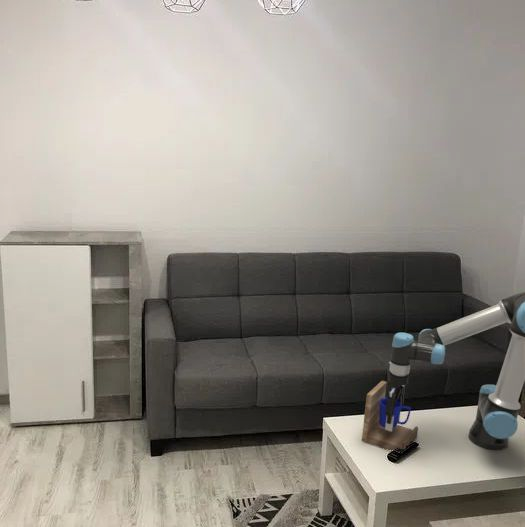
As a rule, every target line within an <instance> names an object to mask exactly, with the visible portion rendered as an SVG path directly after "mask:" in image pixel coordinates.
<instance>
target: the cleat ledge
mask: <svg viewBox="0 0 525 527" xmlns="http://www.w3.org/2000/svg"><path fill="white" fill-rule="evenodd" d="M418 431H419V426H415V427H414V428H413V429H411V428H408V427H405V426H403V425H400V424H397V425H396V427H395V428H393V429H392V432H391V431H388V430H385V428H384V427H382V426H381V425H380V423H379V424H378V425H377V426H376V427H375V428H374V429H373V430H372V431H371V432H370V433H369V434H368V435H367V441H366V442H365V443H366V444H369V445H373V446H375V447H377V446H378V448H381V449H383V448H384V450H386V449H388V450H387V451H389V450H391V451H390V452H392V450H395V449H397V448H400V449H405V448H406V446H407V445H408V444H409V443H410V442H411V441H414V442H415V441H416V440H417V439H418V433H419V432H418Z"/></svg>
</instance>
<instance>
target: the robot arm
mask: <svg viewBox="0 0 525 527" xmlns="http://www.w3.org/2000/svg"><path fill="white" fill-rule="evenodd" d="M505 323H508V324H510V327H509V331H510V333H511V334H512V335H511V338H510V340H509V345H508V348H507V351H506V354H505V357H504V361H503V364H502V367H501V370H500V373H499V375H498V380H497V382H496V385H495V384H483V385H482V386H481V387H480V390H479V395H478V396H479V397H478V402H477V409H476V416H475V420H474V421H473V424H472V425H471V427H470V429H469V430H468V439H469V440H470V441H471V442H472V443H473V444H475V445H477V446H479V447H480V448H484V449H488V450H492V451H493V450H495V451H498V450H499V451H500V450H504V449H507V447H508V446H509V439H510V438H511V437H513V436H514V435H515V434H516V432H517V431H518V427H519V426H518V425H519V422H518V420H517V419H518V416H519V413H520V411H521V410H520V409H521V406H522V405H521V404H520V402H519V399H520V395H521V393H522V389H523V386H524V383H525V291H523V292H519V293H516V294H513V295H510V296H508V297H504V298H502V299H500V300H499V302H498V303H497V304H495V305H492V306H489V307H487V308H485V309H482V310H479V311H477V312H474V313H472V314H470V315H466V316H464V317H461V318H458V319H456V320H454V321H451V322H449V323H446V324H444V325H441V326H439V327H436V328H433V329H431V328H425V329H422V330H421V331H420V332H419V333H418V337H417V340H415V339H414V336H413V335H412V334H410V333H407V332H397V333H395V334H394V336H393V339H392V344H391V352H390V353H391V354H390V360H389V361H388V364H389V371H388V376H387V378H388V379H387V380H388V382H389V383H390V384H391V386H390V389H389V390H388V391H387V397H386V398H387V404H386V410H385V413H384V414H385V415H386V416H387V417H386V425H385V430H388V431H391V432H392V429H393V421H394V416H393V414H394V410H395V406H396V402H397V401H399V402H400V403H401V405H402V406H404V404H405V403H404V402H405V390H406V385H407V384H408V383H409V376H410V375H409V374H410V370H411V361H414V362H421V363H426V364H427V363H428V364H432V365H442V364H444V362H445V356H446V346H447V345H450V344H453V343H455V342H458V341H461V340H463V339H466V338H468V337H472V336H473V335H474V336H475V335H476V334H480V333H481V332H484V331H487V330H490V329H493V328H495V327H497V326H501V325H503V324H504V325H505ZM401 412H402V411H400V413H401ZM400 420H401V414H400V415H399V421H400ZM397 425H400V424H399V423H397Z"/></svg>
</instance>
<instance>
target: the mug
mask: <svg viewBox="0 0 525 527" xmlns="http://www.w3.org/2000/svg"><path fill="white" fill-rule="evenodd" d="M387 398H388V397H385V398H383V399H381V400H380V412H379V423H380V425H381V426H382V427H384V428H385V425H386V417H387V416H386V415H385V414H384V413H385V410H386V404H387ZM402 409H406V410H408V411H407V416H406V418H405V420H404V421H400V420H399V415H400V416H401V412H402V411H401V410H402ZM411 410H412V407H411V406H407V405H401V403H400V402H399V401H397V402H396V406H395V410H394V414H393V416H394V421H393V428H395V427H396V425H401V426H403V425H406V424H407V423H408V421H409V418H410V415H411ZM400 411H401V412H400ZM397 423H399V424H397Z"/></svg>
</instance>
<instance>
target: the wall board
mask: <svg viewBox="0 0 525 527" xmlns="http://www.w3.org/2000/svg"><path fill="white" fill-rule="evenodd" d="M387 384H388V382H387V381H385V380H381V381H380V382H379V383H377V385H376V386H374V387H373V388H372V389H371V390H370V391H369V392H368V393H367V394H366V396H365V397H366V399H365V408H364V416H363V424H362V435H361V442H363V443H366V441H367V435H368V434H369V433H370V432H371V431H372V430H373V429H374V428H375V427H376V426H377V425H378V424H379V412H380V400H381V399H383V398H386V393H387V392H386V390H387Z"/></svg>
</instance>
